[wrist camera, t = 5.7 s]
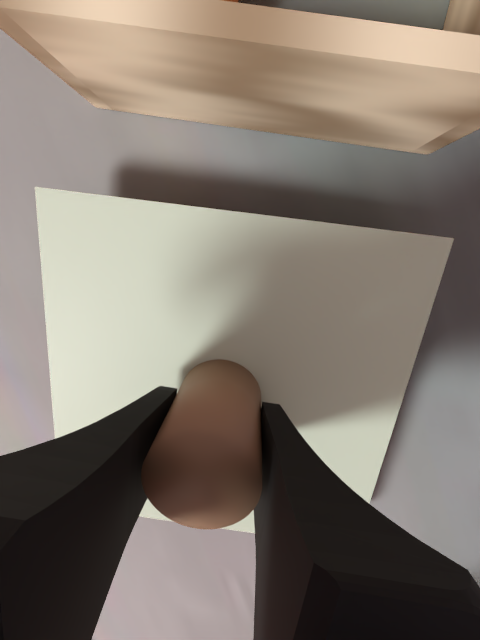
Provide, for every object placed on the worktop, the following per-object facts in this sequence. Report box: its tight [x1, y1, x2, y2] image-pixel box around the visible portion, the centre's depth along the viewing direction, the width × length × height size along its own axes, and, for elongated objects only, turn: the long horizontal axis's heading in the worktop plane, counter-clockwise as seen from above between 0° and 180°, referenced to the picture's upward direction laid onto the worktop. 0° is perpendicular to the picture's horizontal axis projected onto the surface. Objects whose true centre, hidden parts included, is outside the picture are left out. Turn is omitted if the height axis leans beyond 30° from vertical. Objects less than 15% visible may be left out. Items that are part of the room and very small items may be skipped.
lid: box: [35, 187, 454, 533], centre depth 10 cm, size 13×13×5 cm
